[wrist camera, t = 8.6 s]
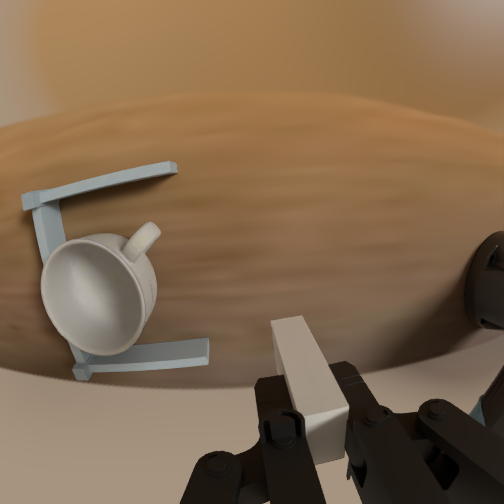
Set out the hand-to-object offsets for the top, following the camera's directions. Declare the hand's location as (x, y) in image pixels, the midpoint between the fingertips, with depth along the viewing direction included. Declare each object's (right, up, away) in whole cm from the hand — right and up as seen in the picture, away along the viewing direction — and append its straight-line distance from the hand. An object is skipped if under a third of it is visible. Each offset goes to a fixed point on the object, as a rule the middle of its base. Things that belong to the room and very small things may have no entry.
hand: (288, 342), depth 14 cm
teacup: (-15, +3, +16) cm, 23 cm away
